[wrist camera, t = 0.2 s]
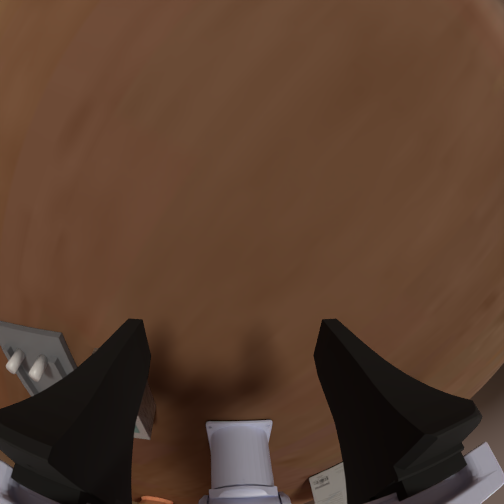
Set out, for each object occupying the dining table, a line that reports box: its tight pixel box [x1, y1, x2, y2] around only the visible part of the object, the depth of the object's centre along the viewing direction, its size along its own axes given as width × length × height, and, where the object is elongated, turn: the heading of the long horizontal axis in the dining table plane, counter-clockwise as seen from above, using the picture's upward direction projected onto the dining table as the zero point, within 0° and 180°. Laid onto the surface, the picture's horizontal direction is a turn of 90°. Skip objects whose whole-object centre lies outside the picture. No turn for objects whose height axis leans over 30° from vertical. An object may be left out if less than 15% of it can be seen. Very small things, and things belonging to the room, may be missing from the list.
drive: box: [92, 348, 156, 440], centre depth 23 cm, size 9×5×5 cm, turn 178°
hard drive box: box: [309, 462, 347, 504], centre depth 32 cm, size 16×8×20 cm, turn 139°
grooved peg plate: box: [0, 321, 77, 396], centre depth 24 cm, size 20×12×4 cm, turn 178°
